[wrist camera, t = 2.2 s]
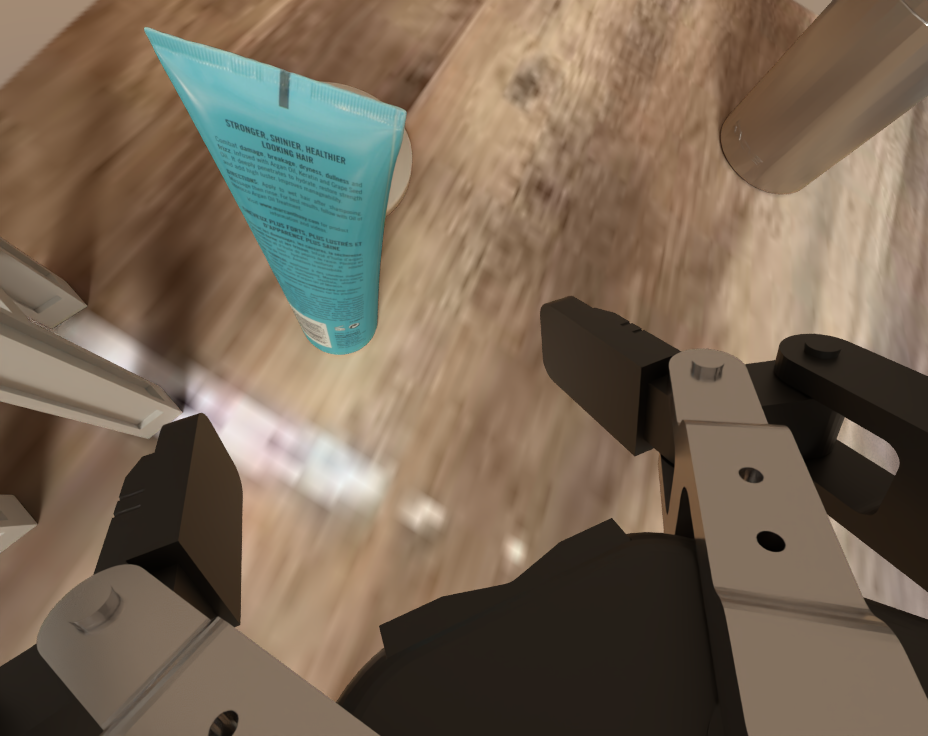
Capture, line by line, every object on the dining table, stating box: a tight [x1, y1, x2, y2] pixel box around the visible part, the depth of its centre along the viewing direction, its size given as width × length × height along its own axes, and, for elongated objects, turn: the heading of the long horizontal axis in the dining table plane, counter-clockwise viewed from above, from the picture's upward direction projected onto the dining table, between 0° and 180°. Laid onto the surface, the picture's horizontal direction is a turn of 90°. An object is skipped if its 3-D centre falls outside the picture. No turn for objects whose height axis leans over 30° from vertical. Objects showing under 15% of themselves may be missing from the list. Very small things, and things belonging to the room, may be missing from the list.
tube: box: [144, 27, 407, 355], centre depth 22 cm, size 7×5×19 cm, turn 82°
